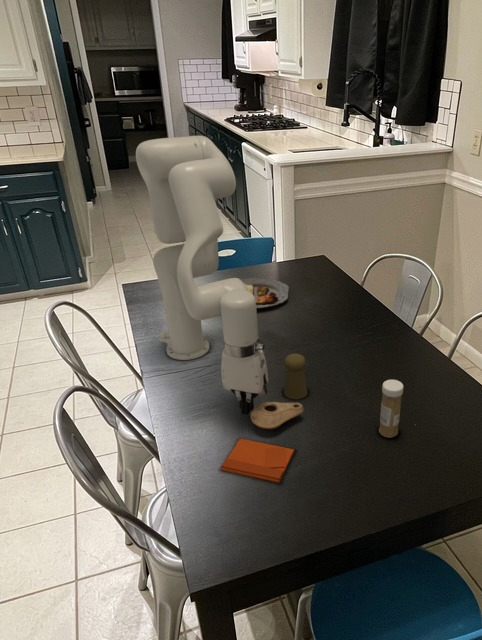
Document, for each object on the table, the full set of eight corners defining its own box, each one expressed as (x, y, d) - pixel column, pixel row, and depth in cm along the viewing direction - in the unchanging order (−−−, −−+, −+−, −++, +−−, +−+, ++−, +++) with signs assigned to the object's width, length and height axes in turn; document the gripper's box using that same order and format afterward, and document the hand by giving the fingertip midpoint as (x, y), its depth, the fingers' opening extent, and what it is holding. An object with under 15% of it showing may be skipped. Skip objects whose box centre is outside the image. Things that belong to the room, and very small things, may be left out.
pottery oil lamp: (309, 425, 118) (302, 412, 112) (262, 444, 119) (252, 432, 113) (299, 395, 123) (291, 381, 117) (254, 413, 124) (244, 400, 118)
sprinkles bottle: (401, 436, 115) (407, 388, 108) (382, 439, 114) (387, 391, 107) (393, 424, 119) (398, 377, 112) (375, 427, 118) (379, 380, 111)
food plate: (287, 313, 170) (286, 303, 168) (218, 313, 170) (217, 303, 168) (289, 283, 191) (289, 275, 189) (229, 284, 191) (228, 275, 189)
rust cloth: (221, 470, 106) (221, 466, 106) (240, 440, 114) (239, 436, 114) (279, 483, 103) (279, 479, 103) (294, 451, 111) (294, 447, 111)
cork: (290, 401, 127) (289, 365, 121) (280, 389, 131) (278, 353, 126) (311, 395, 129) (311, 359, 123) (300, 383, 134) (300, 348, 128)
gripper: (279, 342, 112) (281, 408, 122) (218, 333, 116) (225, 397, 126) (267, 359, 106) (270, 427, 116) (203, 349, 110) (212, 415, 120)
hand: (247, 411), depth 121 cm, fingers closed
